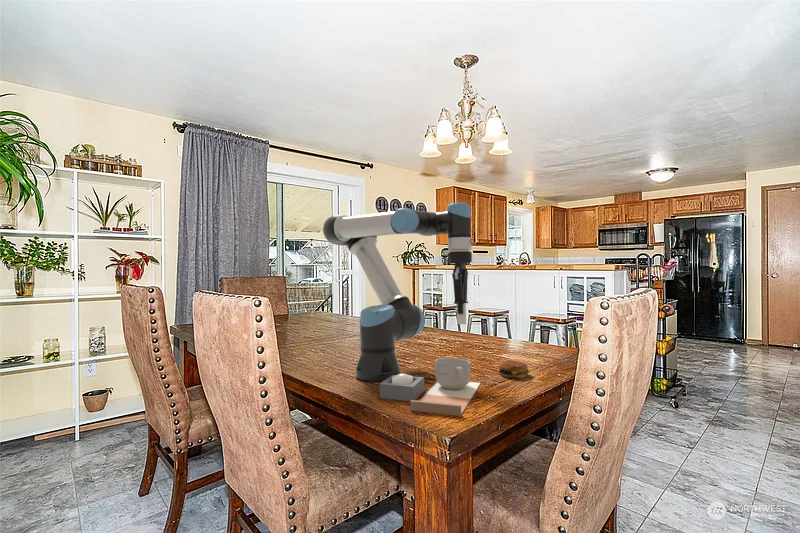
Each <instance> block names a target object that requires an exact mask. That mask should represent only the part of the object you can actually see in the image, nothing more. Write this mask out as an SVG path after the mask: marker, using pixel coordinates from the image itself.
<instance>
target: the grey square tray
mask: <svg viewBox="0 0 800 533" xmlns="http://www.w3.org/2000/svg"><path fill="white" fill-rule="evenodd" d="M392 376H394V375H392ZM392 376H390V377H389V378H387V379H386V380H384V381H381V382H380V383H379V398H380V399H384V398H387V399H386V400H394V399H396V400H395V401H406V402H410V401H411V400H416V401H417V399H418V398H419V397H421V395H422V394H423V393H424V392H425V377H424V376H413V383H412V384H410V385H406V384H394V383H392Z"/></svg>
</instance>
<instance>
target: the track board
mask: <svg viewBox="0 0 800 533" xmlns="http://www.w3.org/2000/svg"><path fill="white" fill-rule="evenodd" d="M480 385H481V382H475V381H469V383H468V384H467V385H466V386H464V387H463V388H462V389H447V388H444V387H442V386H441V385H440V384H439V383H438V382H437V381H436V383H435V384H434V385H433V386H432V387H431V388H430V389H429V390H428V391H427V392H426V393H424V394H423V396H422V397H421V398H420V399H418V400H417V399H416V400H411V401H409V402H410V404H409V406H410V411H412V412H420V413H421V412H422V413H428V414H429V413H430V414H439V415H447V416H457V417H458V416H459V417H461V416H462V414H463V413H464V411H465V409H466V408H467V406H468V405H469V403H470V401H471V400H472V398H473V396H474V395H475V394H476V391H477V390H478V389H479V387H480Z"/></svg>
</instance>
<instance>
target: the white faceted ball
mask: <svg viewBox="0 0 800 533" xmlns="http://www.w3.org/2000/svg"><path fill="white" fill-rule="evenodd" d="M400 373H401V374H398V375H394V376H392V383H394V384H406V385H410V384H412V383H413V377H414V376H413V375H411V374H408V373H405V372H400Z"/></svg>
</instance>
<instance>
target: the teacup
mask: <svg viewBox="0 0 800 533" xmlns="http://www.w3.org/2000/svg"><path fill="white" fill-rule="evenodd" d="M434 363H435V365H434V366H435V367H434V374H435V380H436V383H437V382H438V383H439V384H440V385H441V386H442V387H444V388H447V389H462V388H463V387H464V386H466V385H467V384H468V383H469V382H470V380H471V369H472V367H471V366H472V362H471V360H468V359H463V358H458V357H441V358H436V359H435V360H434Z"/></svg>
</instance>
